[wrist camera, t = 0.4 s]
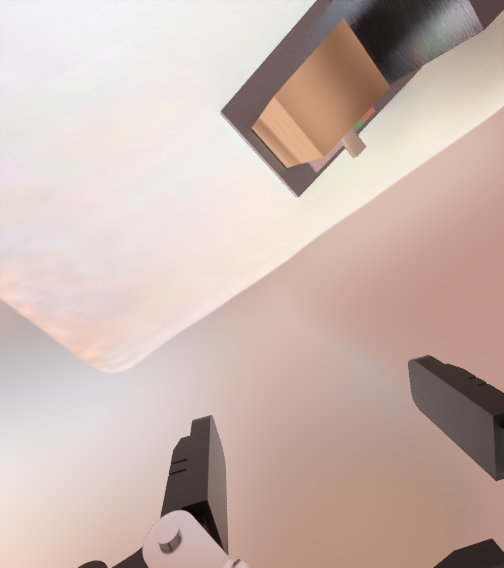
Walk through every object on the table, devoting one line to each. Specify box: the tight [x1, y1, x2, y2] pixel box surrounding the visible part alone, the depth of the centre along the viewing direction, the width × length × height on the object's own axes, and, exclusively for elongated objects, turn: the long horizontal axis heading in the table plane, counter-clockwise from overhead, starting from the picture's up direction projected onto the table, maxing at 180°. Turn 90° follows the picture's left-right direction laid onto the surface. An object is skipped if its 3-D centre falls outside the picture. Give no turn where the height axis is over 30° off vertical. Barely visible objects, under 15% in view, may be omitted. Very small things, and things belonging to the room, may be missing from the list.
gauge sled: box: [252, 18, 390, 168], centre depth 24 cm, size 6×7×10 cm
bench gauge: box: [220, 0, 504, 197], centre depth 24 cm, size 17×11×11 cm, turn 135°
